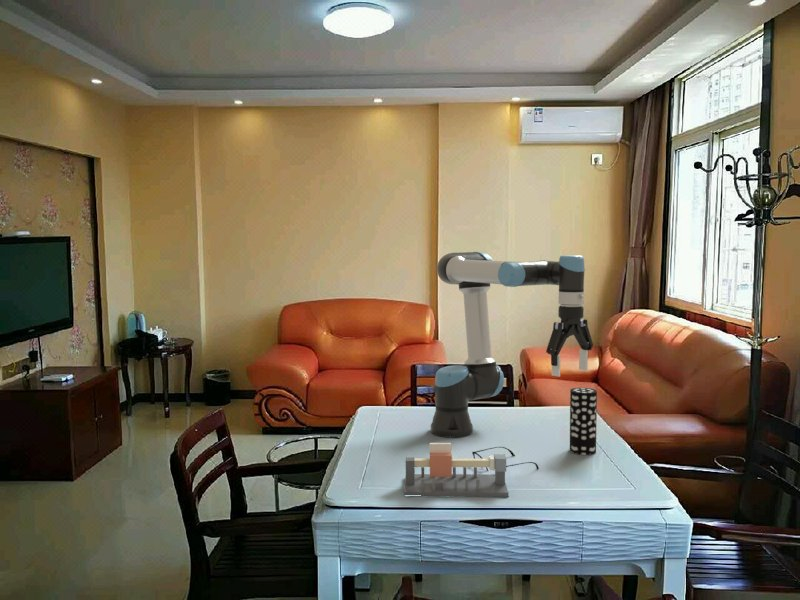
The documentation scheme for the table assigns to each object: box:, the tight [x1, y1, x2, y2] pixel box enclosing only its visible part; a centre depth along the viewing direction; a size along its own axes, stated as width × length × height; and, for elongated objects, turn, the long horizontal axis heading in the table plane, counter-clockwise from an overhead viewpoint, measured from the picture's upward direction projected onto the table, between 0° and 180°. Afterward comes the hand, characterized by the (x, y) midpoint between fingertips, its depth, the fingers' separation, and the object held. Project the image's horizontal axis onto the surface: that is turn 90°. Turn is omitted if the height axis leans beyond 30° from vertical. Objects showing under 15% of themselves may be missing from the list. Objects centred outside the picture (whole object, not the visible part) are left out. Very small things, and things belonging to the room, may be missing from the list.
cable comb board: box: [403, 456, 509, 498], centre depth 185 cm, size 28×14×8 cm, turn 88°
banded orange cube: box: [429, 442, 453, 477], centre depth 185 cm, size 6×6×8 cm
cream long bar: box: [414, 453, 507, 473], centre depth 185 cm, size 27×4×4 cm, turn 88°
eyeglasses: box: [471, 446, 540, 472], centre depth 203 cm, size 16×16×4 cm
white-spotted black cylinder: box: [569, 387, 598, 456], centre depth 215 cm, size 8×8×20 cm
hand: (569, 373), depth 207 cm, fingers open, 13 cm apart
